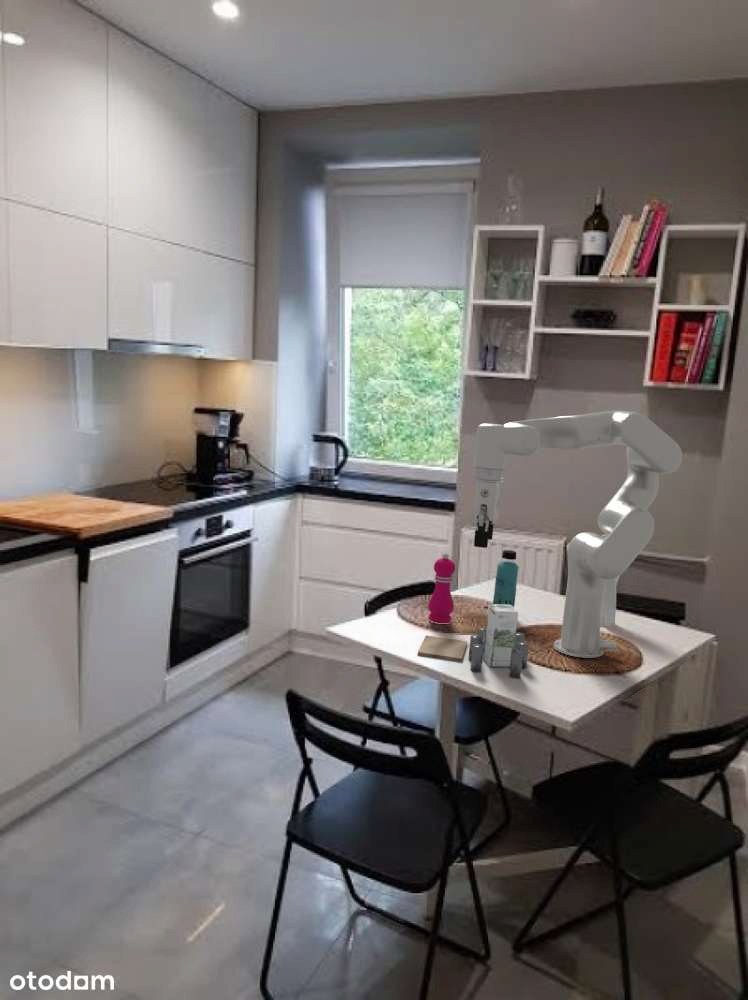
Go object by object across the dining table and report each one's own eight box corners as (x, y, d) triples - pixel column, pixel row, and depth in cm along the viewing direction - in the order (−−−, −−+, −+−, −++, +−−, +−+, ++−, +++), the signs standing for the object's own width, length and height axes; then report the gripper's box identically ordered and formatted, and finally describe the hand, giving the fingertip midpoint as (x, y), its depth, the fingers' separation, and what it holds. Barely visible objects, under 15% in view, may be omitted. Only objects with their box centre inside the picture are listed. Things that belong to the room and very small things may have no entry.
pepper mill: (443, 627, 210) (450, 557, 206) (422, 621, 214) (427, 552, 211) (457, 621, 215) (463, 553, 212) (435, 615, 220) (441, 548, 216)
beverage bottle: (497, 611, 228) (504, 547, 225) (517, 616, 224) (524, 551, 221) (487, 616, 223) (494, 550, 220) (507, 621, 219) (515, 554, 216)
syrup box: (504, 659, 189) (510, 603, 187) (512, 668, 183) (518, 611, 181) (482, 658, 188) (488, 602, 186) (489, 668, 182) (495, 610, 180)
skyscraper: (608, 629, 219) (620, 535, 214) (584, 622, 224) (596, 530, 219) (619, 623, 225) (631, 532, 220) (596, 617, 230) (607, 527, 225)
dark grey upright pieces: (527, 656, 192) (529, 634, 191) (525, 680, 177) (528, 655, 176) (471, 648, 195) (473, 626, 194) (464, 670, 180) (467, 646, 179)
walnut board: (467, 644, 198) (467, 641, 198) (461, 661, 185) (461, 658, 185) (425, 638, 200) (426, 635, 200) (417, 654, 187) (417, 651, 187)
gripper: (500, 480, 175) (494, 552, 178) (507, 472, 192) (502, 537, 194) (468, 477, 177) (462, 548, 180) (478, 469, 193) (473, 534, 196)
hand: (483, 542), depth 187 cm, fingers open, 9 cm apart
